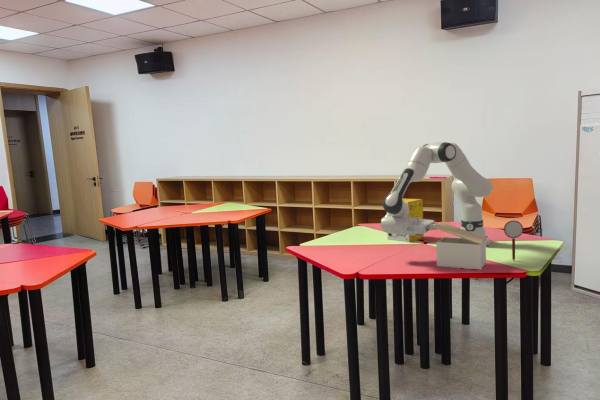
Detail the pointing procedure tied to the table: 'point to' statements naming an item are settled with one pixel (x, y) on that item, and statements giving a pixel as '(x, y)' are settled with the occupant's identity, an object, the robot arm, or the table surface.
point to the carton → (460, 253)
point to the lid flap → (459, 232)
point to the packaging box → (414, 212)
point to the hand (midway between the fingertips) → (439, 227)
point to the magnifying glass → (513, 233)
